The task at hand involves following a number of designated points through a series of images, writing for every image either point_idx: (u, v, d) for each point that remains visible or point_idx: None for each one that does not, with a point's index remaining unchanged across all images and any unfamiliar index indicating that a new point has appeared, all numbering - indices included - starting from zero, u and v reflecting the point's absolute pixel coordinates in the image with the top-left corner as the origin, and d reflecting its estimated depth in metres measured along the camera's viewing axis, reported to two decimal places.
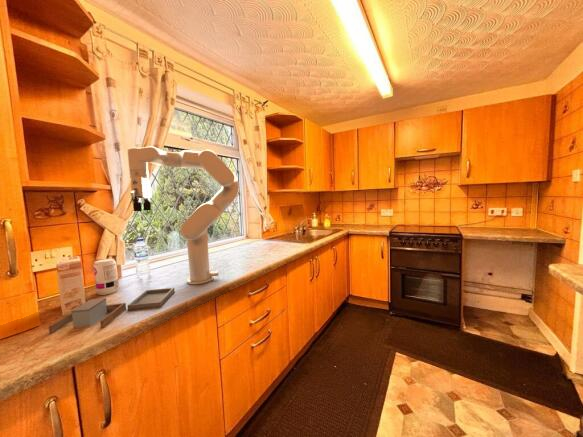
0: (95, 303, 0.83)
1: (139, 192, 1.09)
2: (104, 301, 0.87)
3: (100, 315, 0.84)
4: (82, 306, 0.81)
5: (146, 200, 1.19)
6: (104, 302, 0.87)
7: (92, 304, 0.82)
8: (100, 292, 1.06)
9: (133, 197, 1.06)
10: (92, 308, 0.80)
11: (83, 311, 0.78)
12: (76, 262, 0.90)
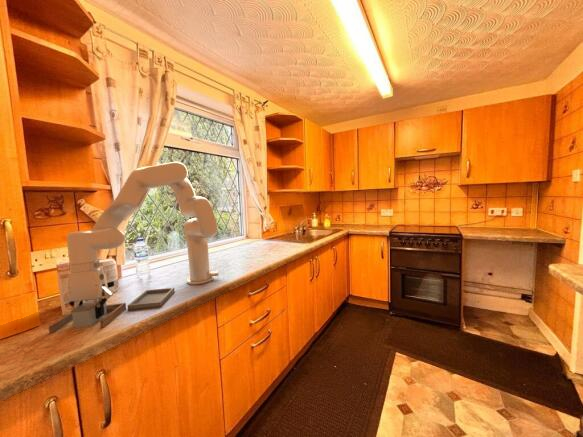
0: None
1: None
2: None
3: None
4: (82, 306, 0.81)
5: None
6: None
7: (92, 304, 0.82)
8: None
9: (107, 298, 0.84)
10: (92, 308, 0.80)
11: (83, 311, 0.78)
12: None
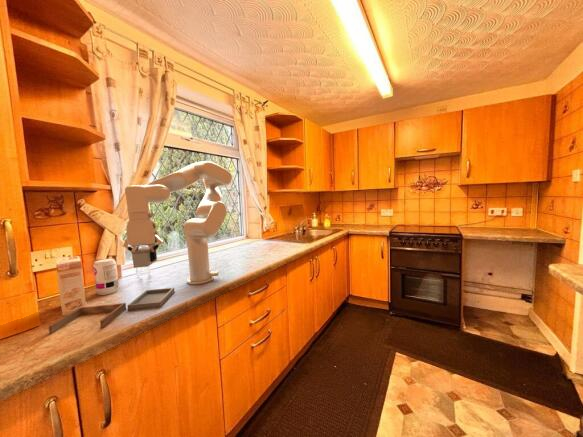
0: (149, 248, 0.96)
1: None
2: None
3: None
4: (139, 250, 0.94)
5: None
6: None
7: (146, 249, 0.95)
8: (100, 292, 1.06)
9: None
10: (148, 251, 0.93)
11: (141, 253, 0.91)
12: (76, 262, 0.90)
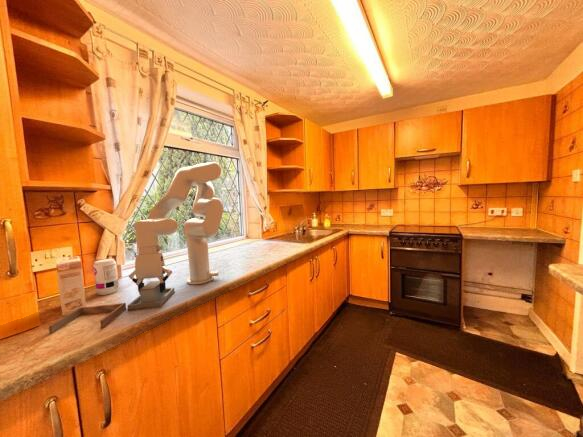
0: (156, 284, 0.98)
1: None
2: None
3: (160, 294, 0.99)
4: (146, 286, 0.96)
5: None
6: None
7: (154, 285, 0.97)
8: (100, 292, 1.06)
9: (168, 276, 0.98)
10: (155, 288, 0.95)
11: (149, 290, 0.93)
12: (76, 262, 0.90)
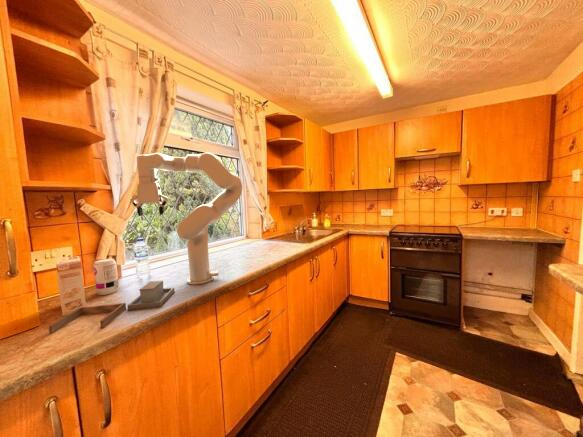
0: (156, 284, 0.98)
1: (161, 197, 1.20)
2: (162, 283, 1.02)
3: (160, 294, 0.99)
4: (146, 286, 0.96)
5: None
6: (162, 284, 1.02)
7: (154, 285, 0.97)
8: (100, 292, 1.06)
9: (166, 201, 1.20)
10: (155, 288, 0.95)
11: (149, 290, 0.93)
12: (76, 262, 0.90)
